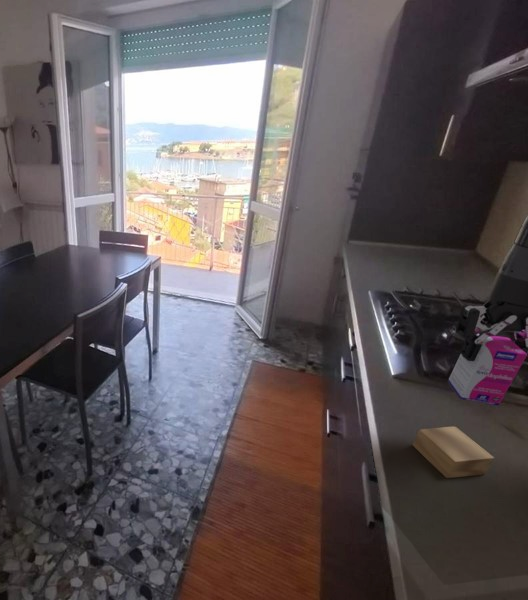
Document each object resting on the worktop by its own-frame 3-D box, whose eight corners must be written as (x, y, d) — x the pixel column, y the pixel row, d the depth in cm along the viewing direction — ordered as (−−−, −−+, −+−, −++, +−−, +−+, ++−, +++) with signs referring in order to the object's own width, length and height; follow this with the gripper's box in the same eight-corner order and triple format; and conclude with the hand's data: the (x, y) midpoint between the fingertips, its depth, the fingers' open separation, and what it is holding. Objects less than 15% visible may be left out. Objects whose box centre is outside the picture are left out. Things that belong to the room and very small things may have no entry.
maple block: (447, 441, 75) (455, 426, 73) (484, 474, 68) (494, 457, 66) (412, 445, 75) (419, 429, 73) (446, 478, 68) (455, 461, 66)
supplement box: (460, 400, 66) (485, 348, 61) (446, 381, 71) (468, 331, 66) (500, 407, 64) (529, 353, 59) (483, 387, 69) (508, 336, 64)
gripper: (498, 280, 55) (457, 369, 62) (610, 284, 52) (554, 376, 60) (465, 264, 61) (431, 346, 69) (563, 267, 59) (518, 352, 66)
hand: (488, 360), depth 64 cm, fingers closed on supplement box, 6 cm apart
